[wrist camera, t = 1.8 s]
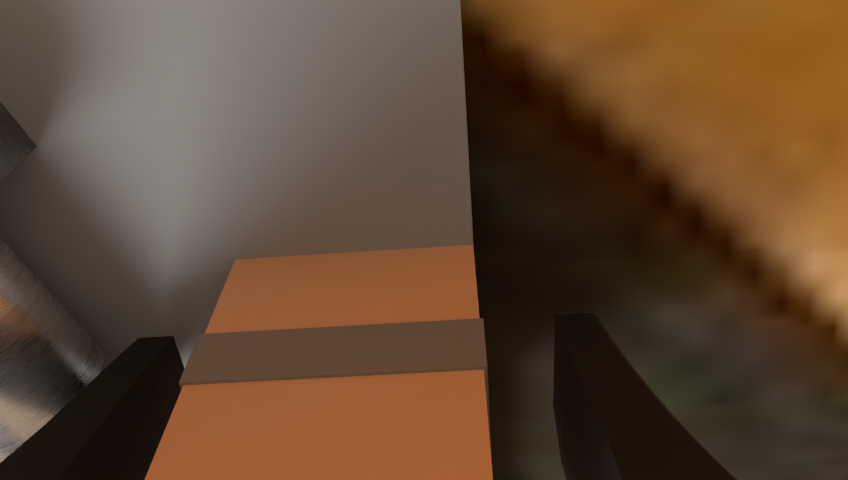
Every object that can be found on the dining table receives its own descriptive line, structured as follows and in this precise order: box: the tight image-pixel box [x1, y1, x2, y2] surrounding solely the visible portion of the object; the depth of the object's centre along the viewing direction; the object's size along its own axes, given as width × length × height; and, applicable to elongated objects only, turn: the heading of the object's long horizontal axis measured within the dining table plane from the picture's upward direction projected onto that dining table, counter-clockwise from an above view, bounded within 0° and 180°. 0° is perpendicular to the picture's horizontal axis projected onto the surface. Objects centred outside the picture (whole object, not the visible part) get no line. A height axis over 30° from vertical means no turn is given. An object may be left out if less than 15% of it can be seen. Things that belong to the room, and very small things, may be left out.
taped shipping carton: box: [145, 245, 493, 480], centre depth 11 cm, size 4×4×5 cm
